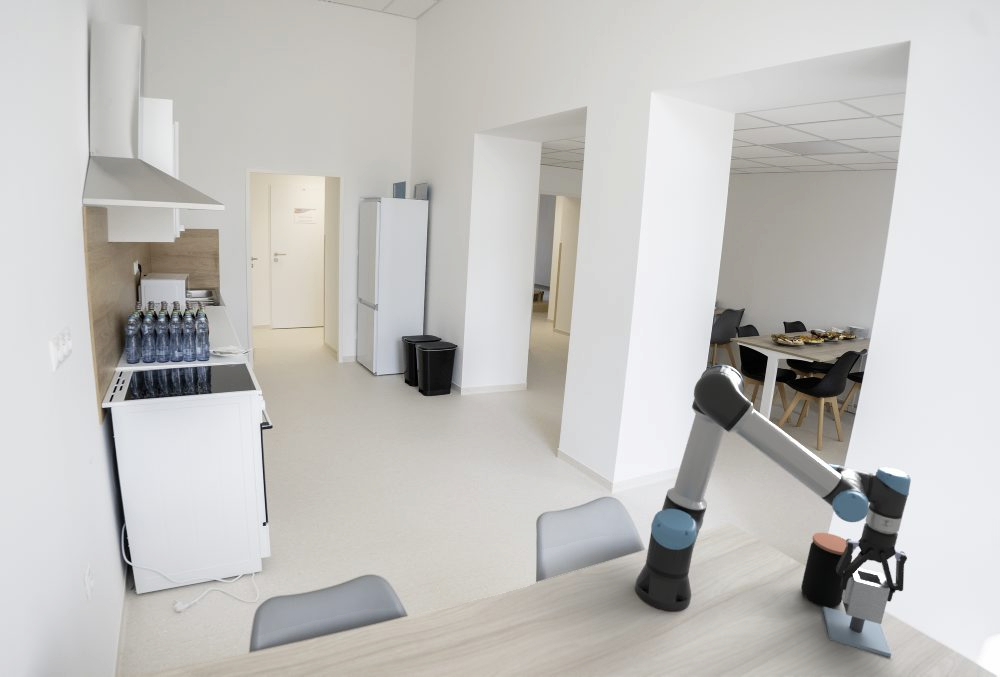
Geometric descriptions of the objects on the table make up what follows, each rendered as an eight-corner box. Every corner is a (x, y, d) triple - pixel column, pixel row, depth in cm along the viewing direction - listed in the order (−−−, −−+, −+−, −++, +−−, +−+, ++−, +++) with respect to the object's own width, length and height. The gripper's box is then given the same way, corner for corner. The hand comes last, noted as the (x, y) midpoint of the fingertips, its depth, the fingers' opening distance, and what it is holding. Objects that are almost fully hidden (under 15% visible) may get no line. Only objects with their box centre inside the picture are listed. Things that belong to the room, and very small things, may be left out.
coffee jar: (845, 613, 176) (860, 555, 172) (805, 604, 178) (818, 547, 174) (833, 591, 186) (847, 536, 182) (796, 583, 188) (808, 529, 184)
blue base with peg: (829, 639, 163) (840, 595, 161) (822, 609, 176) (832, 568, 173) (890, 657, 159) (902, 612, 156) (878, 625, 172) (889, 583, 169)
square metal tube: (846, 614, 164) (854, 580, 162) (841, 598, 171) (849, 565, 169) (881, 624, 161) (889, 589, 159) (874, 606, 168) (882, 573, 166)
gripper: (839, 523, 161) (820, 601, 166) (932, 544, 154) (910, 625, 159) (834, 510, 168) (817, 586, 173) (923, 531, 161) (903, 609, 166)
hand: (862, 605), depth 166 cm, fingers closed on square metal tube, 8 cm apart
